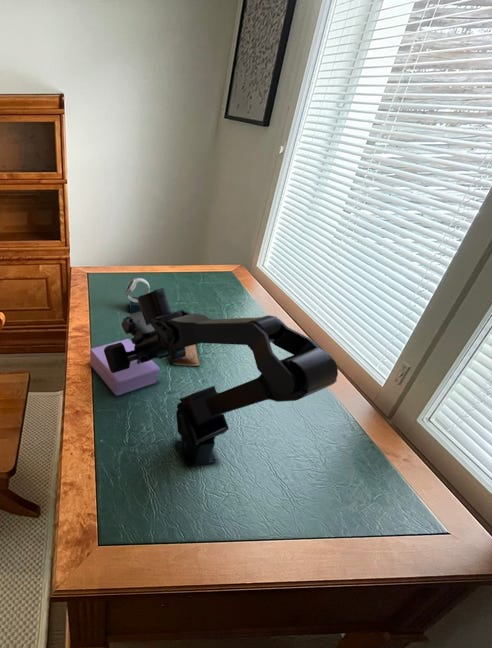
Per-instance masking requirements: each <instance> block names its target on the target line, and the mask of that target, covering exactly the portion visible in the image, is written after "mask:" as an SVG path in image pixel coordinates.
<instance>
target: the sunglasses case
mask: <svg viewBox="0 0 492 648" xmlns="http://www.w3.org/2000/svg"><path fill="white" fill-rule="evenodd" d="M185 351H186V356H185V357H183V358H180V359H176V360H173V361H171V360H170V362H171V363H172V365H174V366H181V367H199V366H200V360H199V355H198V351H197V344H195V345H191V346H187V347H185Z"/></svg>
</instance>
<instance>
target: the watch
mask: <svg viewBox="0 0 492 648" xmlns="http://www.w3.org/2000/svg"><path fill="white" fill-rule="evenodd" d="M138 283H143V284H145V285H146V286H147V289H146V291H145V292H144V294H143V295H145V294H147V293H150V292H151V289H150V288H151V287H150V284H149V281H147V280H146V278H142V277H135V278H132V279H130V281H129V282H128V284H127V286H126V287H125V293H126V297H127V299H128V300H129V313H130V314H132V313H136V312H140V311H141V308H140V305H139V302H138V299H137V298H138V297H139V296H137V297H136V296H130V294H131V293H132V292H133V291H135V288H136V286H137V284H138Z"/></svg>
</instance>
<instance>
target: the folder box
mask: <svg viewBox="0 0 492 648" xmlns="http://www.w3.org/2000/svg"><path fill="white" fill-rule="evenodd" d="M89 365H90V366H91V367H92V368H93V370H94V371H95V372H96V374H97V375H98V376H99V377H100V378H101V379H102V381H103V382H104V383H105V385H106V386H107V387H108V388H109V389H110V390H111V392H112V393H113V394H114V395H115V396H116V397H117V396H121V395H124V394H127V393H129V392H132V391H136V390H138V389H142V388H144V387H147V386H151V385H153V384H156V383H157V382H158V375H159V371H157V372H154V373H151V374H148V375H145V376H142V377H139V378H135V379H132V380H129V381H126V382H123V383H120V384H118V383H117V382H116V380H115V379H114V378H113V377H112V376H111V375H110V373H109V372H108V371H107V370H106V369H105V368H104V367H103V365H102V364H101V363H100V362H99V361H98V360H97V358H96V357H95V356H94V355H93V354H92V353H91V352H90V351H89Z"/></svg>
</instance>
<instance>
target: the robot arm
mask: <svg viewBox="0 0 492 648" xmlns="http://www.w3.org/2000/svg"><path fill="white" fill-rule="evenodd" d="M144 294H145V293H144ZM144 294H142V295H140V296H139V295H138V296H137V297H138V298H137V299H138V302H139V305H140V308H141V311H140V312H136V313H130V314H129V315H126V317H124V318H123V320H122V322H121V328H122V329H123V332H124V334H130V335H131V336H133V337H132V338H130V340H131V341H132V343H133V344H135V346H134V350H133V351H129V352H126V350H125V347H124V345H123V344H122V343H121V342H120V343H116V344H113V345H109V346H107V347H105V349H104V353H105V356H106V359H107V362H108V365H109V368H110V371H111V372H112V373H116V372H119V371H122V370H126V369H128V368H129V367H130V363H131V361H135V360H138V359H140V361H141V363H144V362H147V361H150V360H152V361H154V360H157V359H158V360H159V359H164V358H168V357H169V359H170V362H171V361H173V360H176V359H180V358H183V357H185V356H186V351H185V347H187V346H191V345H195V344H196V345H198V344H215V345H216V344H217V345H234V346H235V345H237V346H239V345H240V346H247V347H248V348H249V349H250V350H251V351H252V354H253V358H254V361H255V366H256V368H257V370H258V372H259V373H260V375H259V376H258V377H256V378H254V379H251V380H249V381H246V382H243V383H241V384H239V385H237V386H233V387H231V388H228V389H226V390H224V391H221V392H218V391H217V389H216V386H215V385H212V386H209V387H207V388H204V389H201V390H198V391H196V392H193V393H190V394H189V395H186V396H183V397H181V398H179V401H180V402H178V403H177V405H176V409H177V410H176V414H175V415H176V427H177V428H176V429H177V433H178V434H179V435H180V440H177V441H176V447H177V449H178V450H179V453H180V456H181V457H182V459H183V462H184V464H185V466H186V467H188V468H189V467H196V466H202V465H211V464H216V462H217V459H216V457H215V455H214V453H213V451H214V447H215V444H216V442H215V440H216V437H218V436H220V435H223V434H225V433H226V432H228V431H229V425H228V422H227V419H226V416H225V415H227V413H229V412H234V411H235V410H239V409H243V408H245V407H249V406H252V405H256V404H258V403H262V402H265V401H273V402H277V403H280V402H281V403H282V402H295V401H299V400H301V399H304V398H306V397H308V396H311V395H312V394H315V393H318V392H319V391H322V390H324V389H327V388H329V387H332V385H334V384H336V382H337V381H338V380H337V379H338V376H339V368H338V365H337V362H336V361H335V359H334V357H333V356H332V355H330V354H329V352H327V351H326V350H323V349H322V348H321V347H320V346H319V345H318V344H317V343H316V342H315V341H314V340H313V339H312V338H310V337H308V336H306V335H305V334H302V333H301V332H298V331H296V330H295V329H293V328H291V327H289V326H288V325H286V324H285V322H283V321H282V320H281V319H280V318H279V317H277V316H274V315H268V314H267V315H265V316H260V317H235V318H209V317H208V316H207V315H205V314H200V313H195V312H194V313H190V312H188V311H186V310H184V309H180V310H176V311H172V309H171V307H170V303H169V301H168V298H167V294H166V291H165V288H164V287H160V288H157V289H154V290H153V291H150V293H147V294H145V295H144ZM271 344H273V345H274V346H276V347H278V348H280V349H282V350H283V351H285V352H287V353H289V354H291V355H290V356H287V357H285V358H282V359H279V358H278V356H277V355H276V354H275V353H274V351H273V349H272V345H271ZM132 355H136V356H133V357H130V358H128V357H129V356H132Z"/></svg>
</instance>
